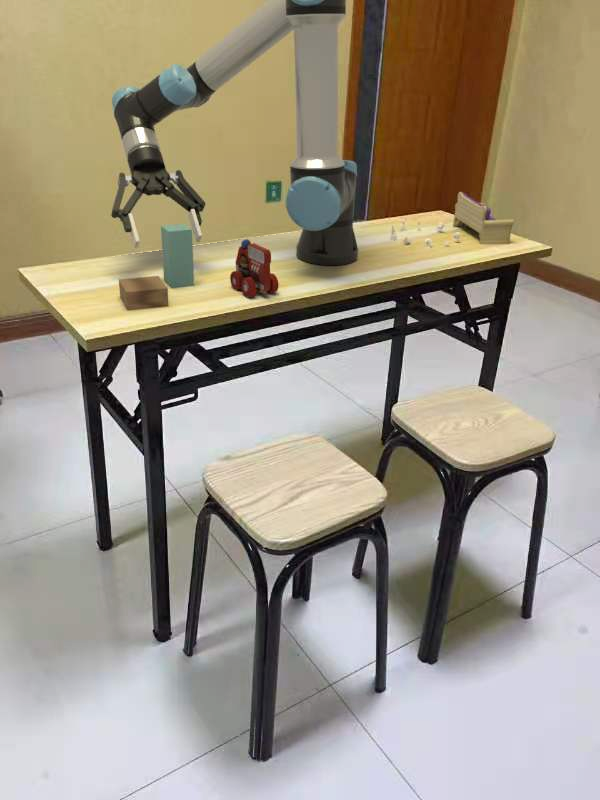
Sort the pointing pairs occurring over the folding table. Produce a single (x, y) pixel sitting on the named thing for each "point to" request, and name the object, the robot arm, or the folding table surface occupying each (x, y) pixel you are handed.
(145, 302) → the slab
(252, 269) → the toy fire truck
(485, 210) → the toy sofa
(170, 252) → the pillar
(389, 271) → the folding table surface
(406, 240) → the game piece set
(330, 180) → the robot arm
